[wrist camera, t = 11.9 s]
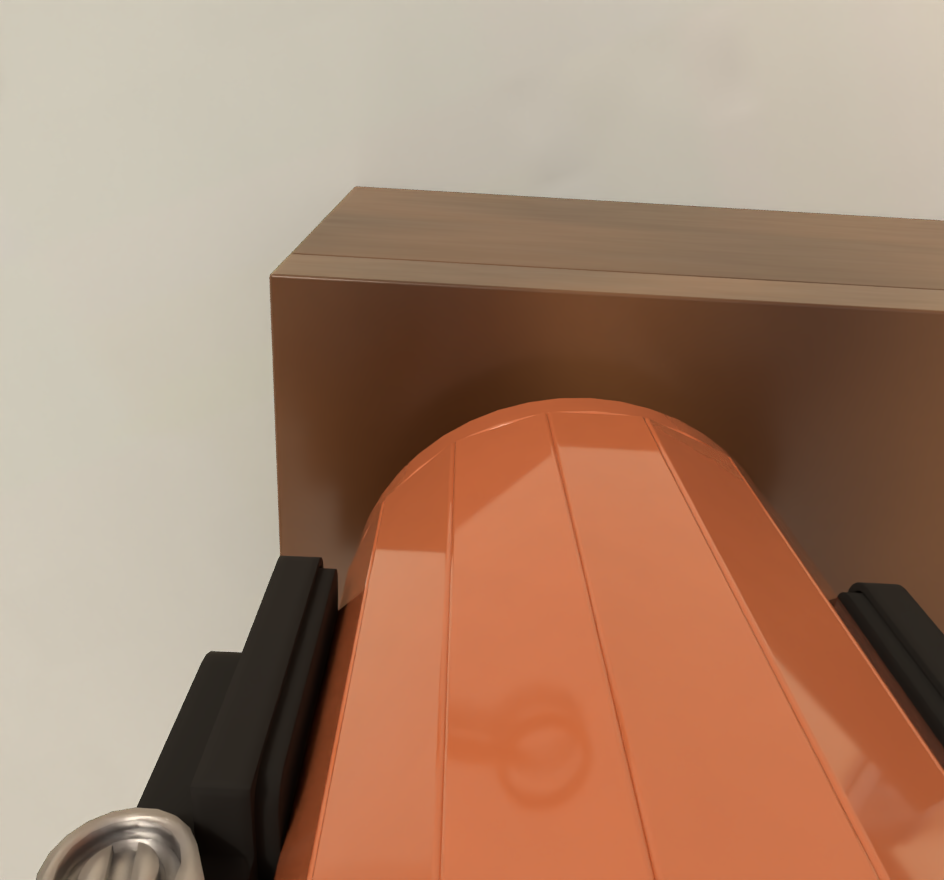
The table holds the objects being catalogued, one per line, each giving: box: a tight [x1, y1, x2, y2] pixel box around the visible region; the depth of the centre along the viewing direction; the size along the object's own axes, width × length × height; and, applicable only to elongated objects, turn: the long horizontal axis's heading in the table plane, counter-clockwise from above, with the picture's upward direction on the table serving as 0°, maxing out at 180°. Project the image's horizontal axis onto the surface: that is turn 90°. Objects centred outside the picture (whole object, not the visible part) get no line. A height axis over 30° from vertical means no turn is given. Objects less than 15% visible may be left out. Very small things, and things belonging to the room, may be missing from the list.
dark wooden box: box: [269, 187, 944, 634], centre depth 21 cm, size 16×20×10 cm
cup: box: [274, 398, 944, 880], centre depth 9 cm, size 6×6×8 cm
